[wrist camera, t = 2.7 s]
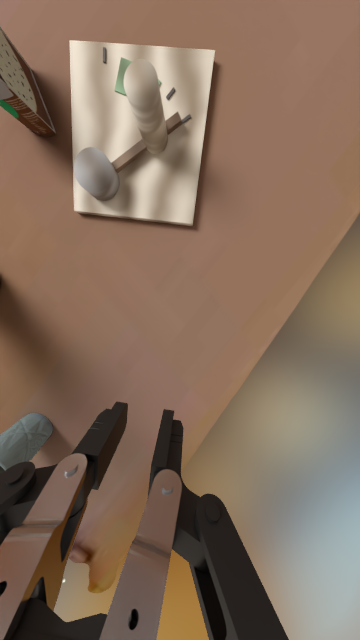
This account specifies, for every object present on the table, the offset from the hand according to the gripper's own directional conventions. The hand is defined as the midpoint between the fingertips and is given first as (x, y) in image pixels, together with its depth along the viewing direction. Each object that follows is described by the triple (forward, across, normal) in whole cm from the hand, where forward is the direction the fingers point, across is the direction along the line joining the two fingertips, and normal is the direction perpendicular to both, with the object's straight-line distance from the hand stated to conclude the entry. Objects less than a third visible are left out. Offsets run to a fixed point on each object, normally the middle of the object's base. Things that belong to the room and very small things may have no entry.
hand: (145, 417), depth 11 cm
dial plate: (+25, -11, +31) cm, 41 cm away
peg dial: (+24, -11, +28) cm, 38 cm away
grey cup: (+25, -34, -34) cm, 54 cm away
